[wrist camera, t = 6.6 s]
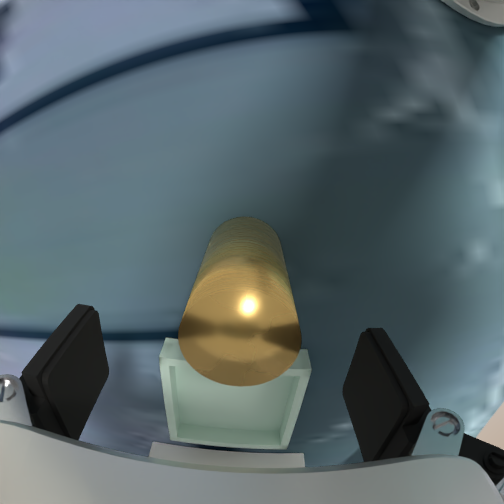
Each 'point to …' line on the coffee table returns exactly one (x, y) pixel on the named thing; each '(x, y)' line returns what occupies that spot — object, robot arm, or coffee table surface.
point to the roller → (241, 308)
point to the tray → (230, 404)
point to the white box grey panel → (226, 457)
